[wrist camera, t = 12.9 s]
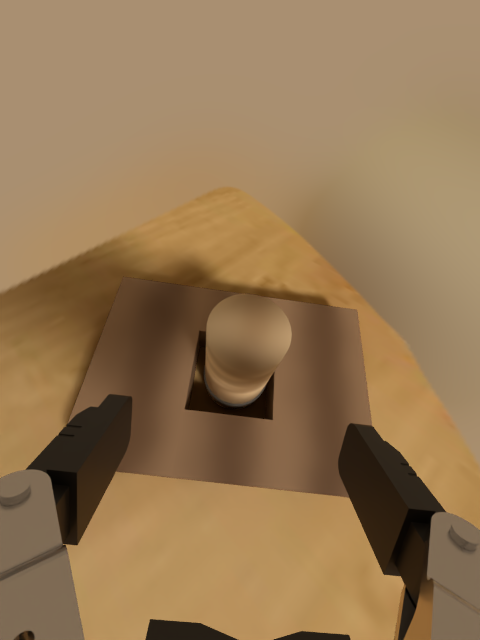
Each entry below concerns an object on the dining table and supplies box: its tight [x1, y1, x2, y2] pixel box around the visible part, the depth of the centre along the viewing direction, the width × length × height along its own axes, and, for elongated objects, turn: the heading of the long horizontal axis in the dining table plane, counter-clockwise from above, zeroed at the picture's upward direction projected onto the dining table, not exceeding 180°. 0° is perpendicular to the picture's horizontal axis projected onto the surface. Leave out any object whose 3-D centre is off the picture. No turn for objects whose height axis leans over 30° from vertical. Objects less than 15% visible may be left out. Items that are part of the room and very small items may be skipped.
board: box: [67, 277, 372, 497], centre depth 22 cm, size 20×14×3 cm
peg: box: [204, 294, 292, 409], centre depth 19 cm, size 5×5×10 cm
